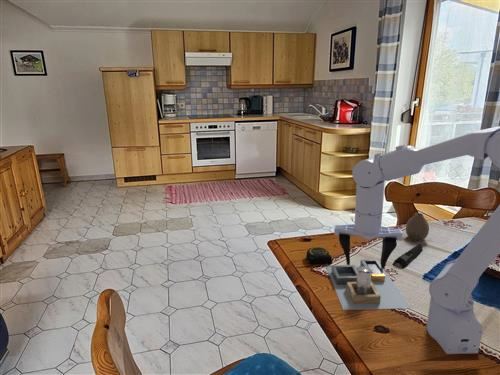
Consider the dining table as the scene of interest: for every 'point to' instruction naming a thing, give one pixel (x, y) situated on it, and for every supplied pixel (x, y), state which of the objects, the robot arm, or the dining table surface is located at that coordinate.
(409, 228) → the vase
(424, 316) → the dining table surface
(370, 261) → the socket
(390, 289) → the board
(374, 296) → the brown piece
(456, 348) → the robot arm
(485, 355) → the dining table surface
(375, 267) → the key
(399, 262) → the electric trimmer
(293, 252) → the dining table surface
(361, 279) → the frosted capsule tube
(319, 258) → the tape measure
